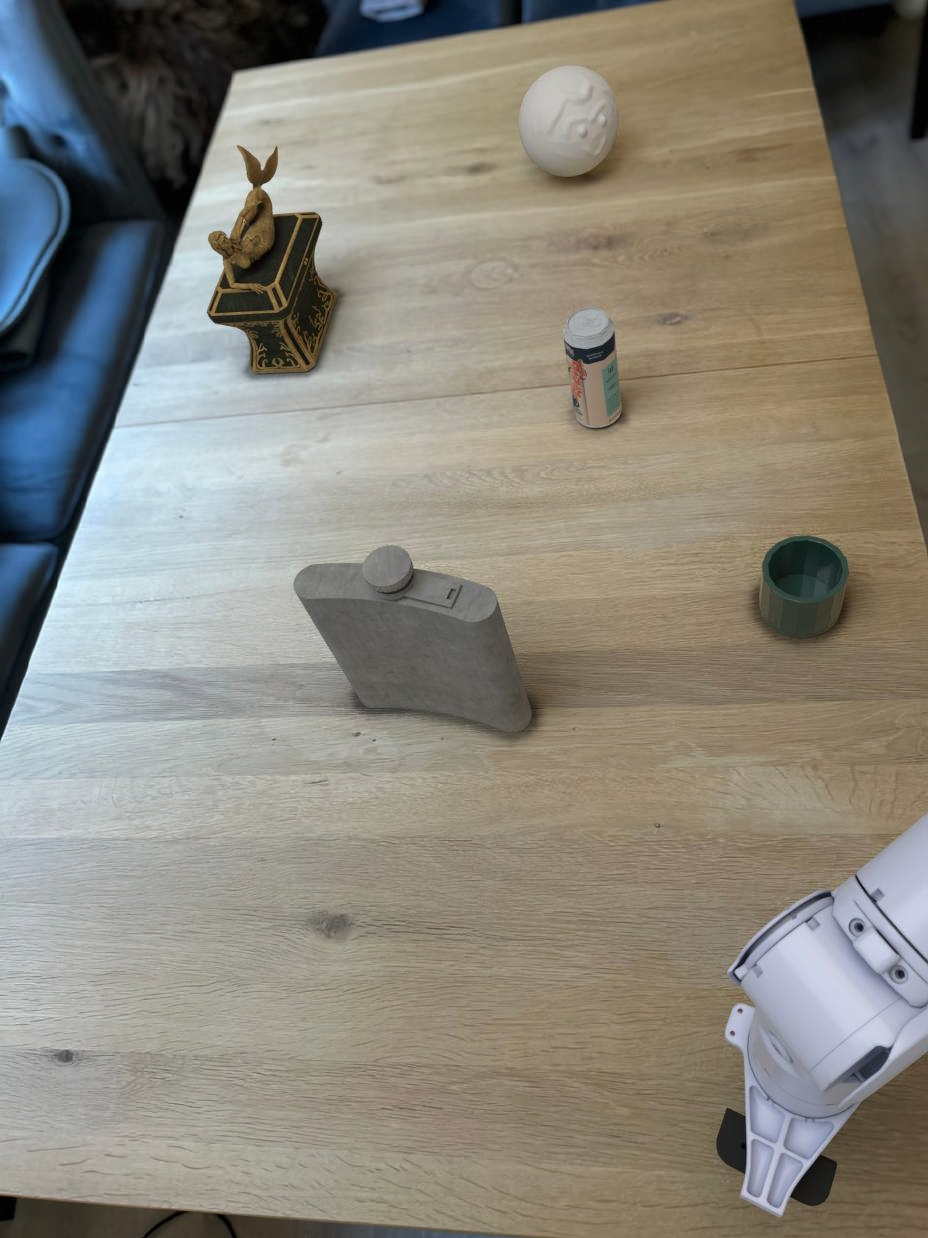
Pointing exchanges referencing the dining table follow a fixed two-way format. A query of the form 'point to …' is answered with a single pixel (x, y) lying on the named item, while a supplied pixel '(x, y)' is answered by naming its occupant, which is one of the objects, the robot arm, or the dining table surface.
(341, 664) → the hip flask
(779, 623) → the pot
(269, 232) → the decorative box
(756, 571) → the dining table surface
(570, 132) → the decorative ball
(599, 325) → the beer can
